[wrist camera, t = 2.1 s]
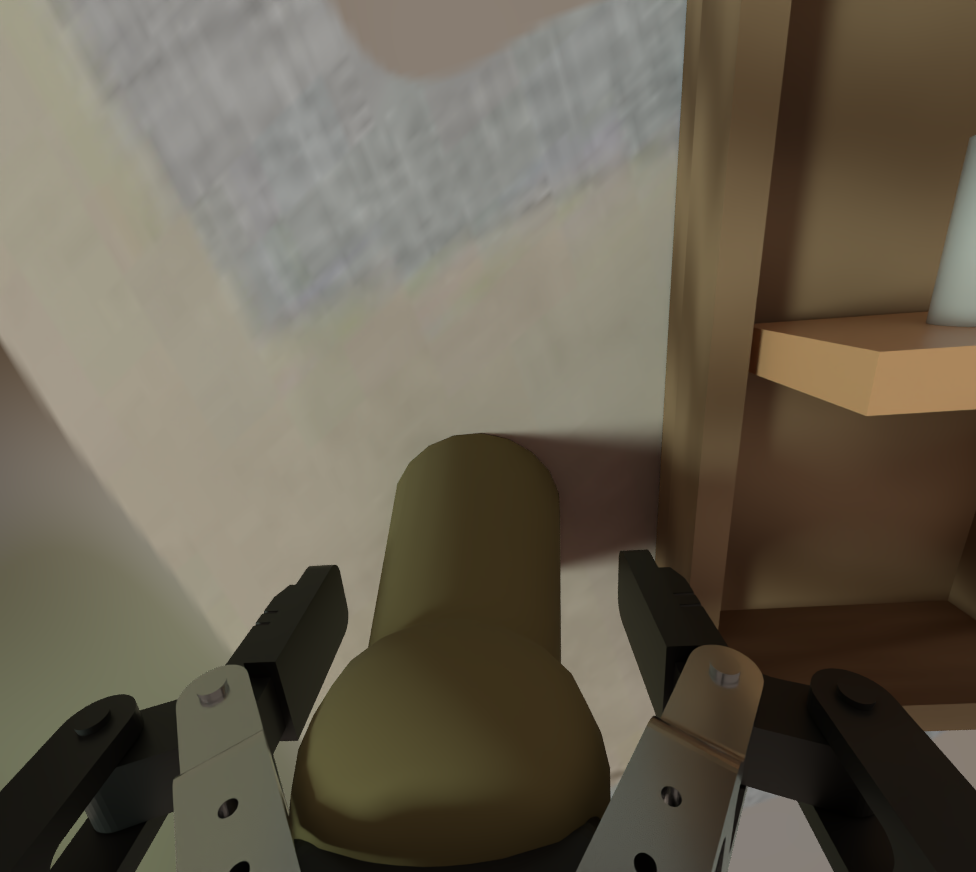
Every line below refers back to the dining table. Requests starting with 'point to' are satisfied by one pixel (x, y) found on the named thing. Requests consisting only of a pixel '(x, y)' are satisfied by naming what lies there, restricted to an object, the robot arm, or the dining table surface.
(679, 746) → the robot arm
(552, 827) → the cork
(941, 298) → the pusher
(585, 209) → the dining table surface
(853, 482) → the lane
